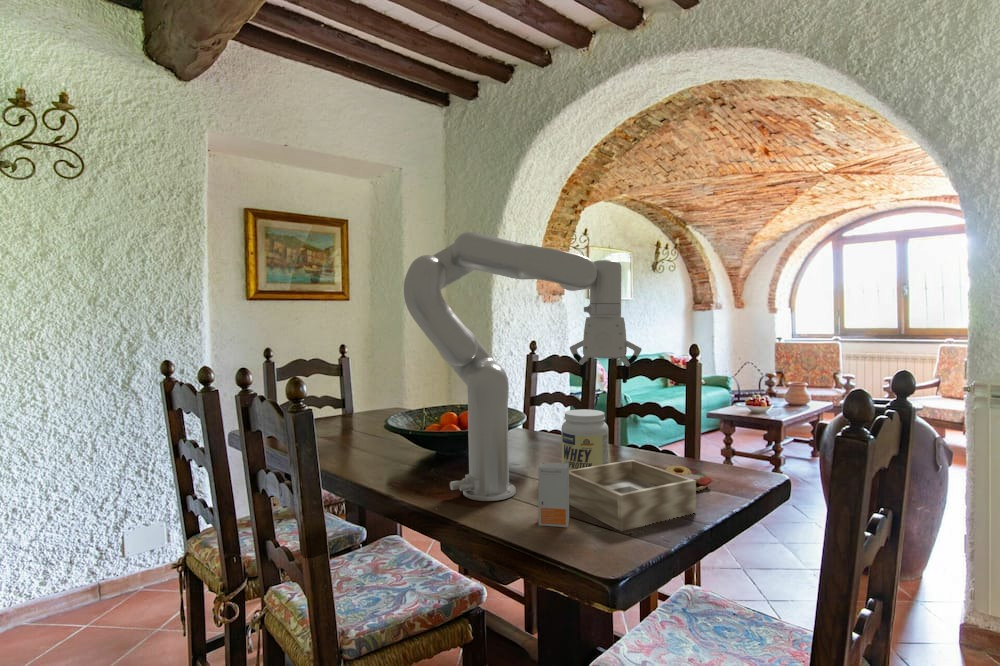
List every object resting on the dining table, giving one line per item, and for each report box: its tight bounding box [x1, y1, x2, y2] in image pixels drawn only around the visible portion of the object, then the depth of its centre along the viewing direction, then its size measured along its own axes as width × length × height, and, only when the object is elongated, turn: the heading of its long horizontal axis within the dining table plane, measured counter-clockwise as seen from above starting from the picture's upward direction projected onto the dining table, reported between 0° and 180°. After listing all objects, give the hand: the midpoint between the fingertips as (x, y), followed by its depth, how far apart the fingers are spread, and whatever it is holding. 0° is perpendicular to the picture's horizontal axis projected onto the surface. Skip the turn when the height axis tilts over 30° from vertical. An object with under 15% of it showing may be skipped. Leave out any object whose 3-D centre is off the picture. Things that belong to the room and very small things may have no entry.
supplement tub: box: [560, 409, 609, 470], centre depth 145 cm, size 12×12×17 cm
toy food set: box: [664, 465, 712, 492], centre depth 137 cm, size 13×13×3 cm
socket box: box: [569, 459, 697, 532], centre depth 121 cm, size 20×20×7 cm
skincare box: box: [537, 462, 570, 528], centre depth 112 cm, size 6×4×12 cm
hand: (604, 381), depth 135 cm, fingers open, 9 cm apart
